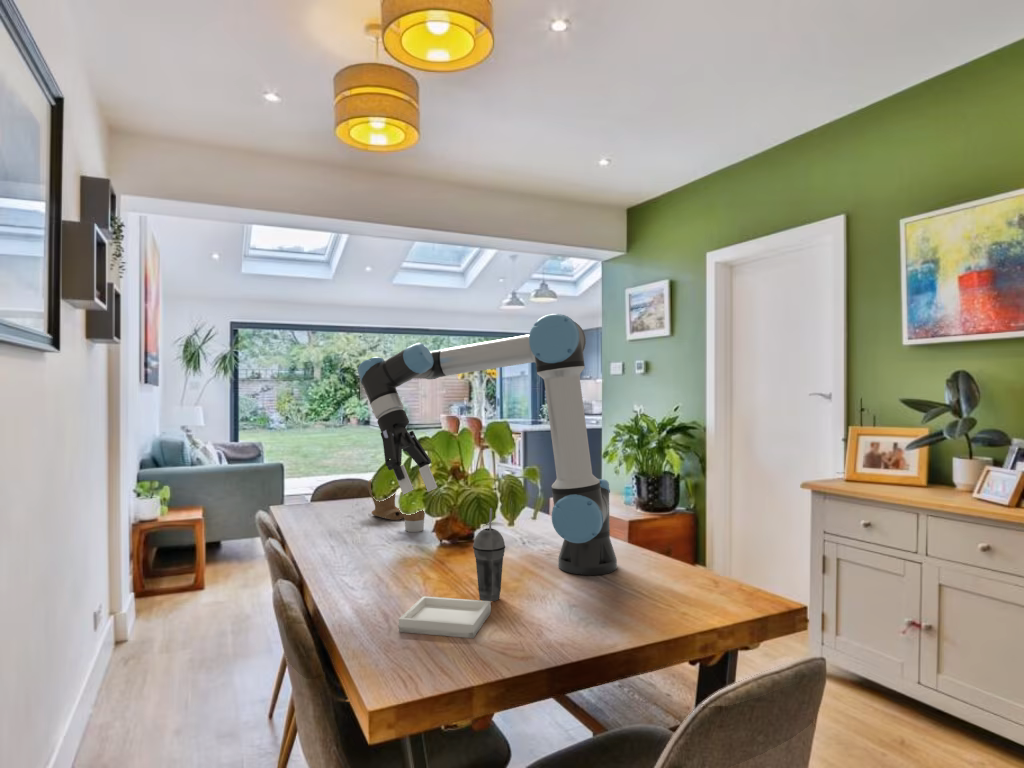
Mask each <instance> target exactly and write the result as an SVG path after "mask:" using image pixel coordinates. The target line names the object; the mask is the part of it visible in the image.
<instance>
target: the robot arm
mask: <svg viewBox="0 0 1024 768" xmlns="http://www.w3.org/2000/svg"><path fill="white" fill-rule="evenodd" d="M586 338H587V337H586V335H585V331H584V330H583V329H582V327H581V325H580V324H578V322H576V321H574V320H573V318H571V317H569V316H567V315H566V314H561V313H551V314H546V315H544V316H541V317H540V318H539V319H537V321H535V323H534V324H533V326H532V327H531V329H530V331H529V333H528V334H524V335H518V336H513V337H506V338H500V339H494V340H487V341H483V342H475V343H471V344H464V345H459V346H453V347H447V348H443V349H436V350H435V349H434V350H430V349H429V348H428V347H427V346H426V345H424V344H423V343H422V342H416V343H414V344H412V345H409V346H406V348H404V349H403V350H401V351H399V352H397V353H396V354H395V355H394V354H393V355H392V356H391V357H388V359H385V358H383V357H380V356H373V357H370V358H369V359H365V360H363V361H362V362H361V363H360V364H359V366H358V367H357V373H358V375H359V380H360V384H361V385H362V387H363V390H364V391H365V394H366V396H367V398H368V401H369V404H370V407H371V408H372V410H371V412H372V414H374V418H376V419H377V425H378V427H379V430H380V436H381V439H382V446H383V447H382V448H383V454H384V463H385V466H386V467H387V469H388V471H392V470H393V473H394V476H395V477H396V480H397V483H398V485H399V488H400V490H401V491H402V492H401V494H402V493H403V494H402V496H403V495H404V494H406V493H408V492H410V491H412V490H414V489H413V486H412V482H411V479H410V476H409V475H408V471H407V469H406V467H405V464H402V461H403V460H402V455H403V454H402V453H403V451H404V452H406V453H407V454H408V455H409V456H410V457H411V459H412V460H413V461H414V462H415V464H416V465H417V466H418V467H419V468H418V471H419V473H420V476H421V478H422V481H423V484H425V486H426V489H427V493H429V492H431V491H432V490H435V489H438V485H437V483H436V480H435V477H434V475H433V472H432V471H431V468H430V464H432V460H431V458H430V457H429V455H428V453H427V452H426V450H425V449H424V448H423V446H422V444H421V442H419V439H418V438H417V435H415V432H414V430H410V431H408V430H407V426H408V425H409V424H410V420H409V417H408V416H407V413H406V411H405V410H404V405H403V403H402V402H403V401H402V399H401V398H400V396H399V393H398V390H397V387H399V386H402V385H403V384H405V383H407V382H409V381H411V380H412V379H417V380H418V379H419V380H421V379H422V380H423V379H425V380H435V379H436V380H437V379H438V378H443V377H448V376H453V375H461V374H466V373H473V372H480V371H485V370H492V369H500V368H504V367H505V368H506V367H510V366H511V367H512V366H518V365H524V364H531V363H535V369H536V374H537V375H538V376H539V377H540V378H542V379H543V382H544V388H545V389H544V390H545V396H546V397H545V398H546V404H547V405H546V406H547V413H548V421H549V428H550V437H551V441H552V451H553V459H554V467H555V473H556V479H555V481H554V482H552V484H551V493H552V494H551V495H552V500H553V507H552V510H551V524H552V526H553V529H554V530H555V532H556V534H557V535H558V536H560V537H561V538H562V539H563V542H562V544H561V548H560V551H559V554H558V561H557V562H558V568H559V569H560V570H562V571H564V572H566V573H569V574H570V573H571V574H574V575H580V576H581V575H583V576H599V575H606V574H611V573H612V572H614V571H616V570H617V568H618V564H617V563H618V562H617V561H618V559H617V556H616V553H615V550H614V547H613V544H612V540H611V537H610V536H611V535H610V534H611V533H610V529H611V527H610V524H611V523H610V521H611V519H610V493H611V489H610V483H609V481H608V480H606V479H602V478H597V477H596V476H595V475H594V474H593V468H592V461H591V460H592V459H591V454H590V446H589V438H588V429H587V423H586V416H585V415H586V413H585V409H584V401H583V394H582V393H583V392H582V385H581V378H580V377H581V374H582V372H583V371H584V369H585V367H586V366H585V358H584V351H585V349H586V348H585V347H586V342H587V341H586V340H587V339H586ZM384 359H385V360H384Z"/></svg>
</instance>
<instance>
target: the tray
mask: <svg viewBox="0 0 1024 768" xmlns="http://www.w3.org/2000/svg"><path fill="white" fill-rule="evenodd" d="M491 603H492V602H491V601H481V600H480V599H477V600H476V599H466V598H465V599H464V598H453V597H452V598H450V597H441V596H440V597H439V596H438V597H437V596H423V595H422V596H421V598H419V599H418V600H417V601H416V602H415V603H414V604H413V605H412V606H411V607H410V608H408V610H406V612H404V613H403V614H402V615H401V616H400V617H399V618H398V632H399V633H405V634H406V633H408V634H419V635H420V634H421V635H428V636H429V635H433V636H443V637H454V638H455V637H456V638H466V639H468V638H469V639H474V638H475V637H476V635H477V634H478V632H479V631H480V630H481V628H482V626H483V625H484V624H485V623H486V621H485V620H487V619H488V618H489V616H490V615H491V613H492V612H491V611H492V610H491V609H492V606H491V605H492V604H491ZM483 623H484V624H483Z"/></svg>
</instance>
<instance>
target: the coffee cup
mask: <svg viewBox="0 0 1024 768" xmlns="http://www.w3.org/2000/svg"><path fill="white" fill-rule="evenodd" d="M425 514H426V512H425V513H424V511H423V510H422V511H419V512H417V513H415V514H411V515H406V514H404V518H403V519H404V527H405V529H404V530H405V531H406V532H407V531H408V532H407V533H418V532H422V531H424V527H425V516H426V515H425Z"/></svg>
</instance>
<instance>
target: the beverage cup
mask: <svg viewBox="0 0 1024 768" xmlns="http://www.w3.org/2000/svg"><path fill="white" fill-rule="evenodd" d="M492 516H493V508H492V507H490V508H489V522H488V524H489V525H488V528H487V527H486V528H483V529H482V530H480V531H479V532H477V534H476V536H475V537H474V540H473V546H472V549H473V553H474V557H475V565H476V566H475V567H476V576H477V588H478V595H479V600H480V599H481V600H482V601H495V602H497V601H496V600H498V599H499V598H500V599H501V597H500V596H501V590H502V589H501V588H502V576H503V565H504V556H505V551H506V545H505V541H504V536H503V535H502V534H501V532H499V530H497V529H495V528H493V527H492V519H493V517H492ZM500 599H499V600H500ZM499 600H498V601H499Z"/></svg>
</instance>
